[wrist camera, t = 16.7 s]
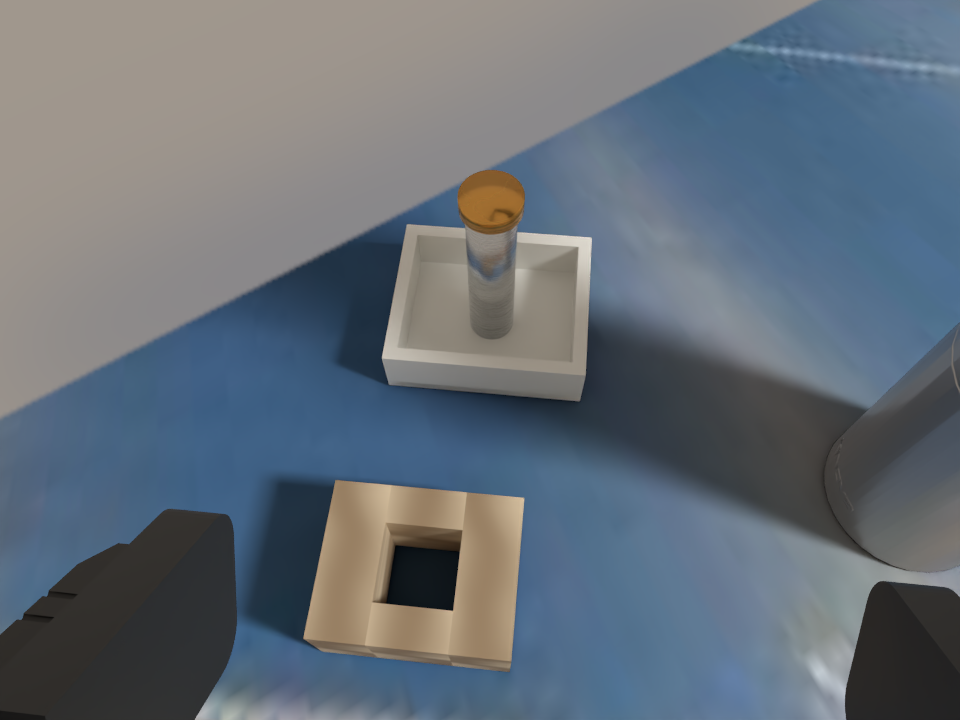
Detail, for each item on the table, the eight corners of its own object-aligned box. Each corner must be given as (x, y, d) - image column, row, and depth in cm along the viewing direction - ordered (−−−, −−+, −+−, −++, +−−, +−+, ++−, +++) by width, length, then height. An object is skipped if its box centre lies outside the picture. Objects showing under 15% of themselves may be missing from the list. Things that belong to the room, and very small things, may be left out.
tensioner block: (521, 522, 43) (524, 498, 39) (509, 671, 40) (511, 661, 36) (350, 505, 44) (335, 479, 40) (322, 651, 40) (303, 638, 36)
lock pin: (519, 300, 50) (527, 172, 39) (515, 345, 48) (521, 224, 37) (468, 296, 50) (461, 167, 39) (462, 341, 48) (453, 219, 38)
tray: (585, 269, 52) (591, 237, 48) (579, 401, 47) (585, 375, 44) (412, 256, 52) (407, 224, 49) (389, 384, 48) (381, 358, 45)
